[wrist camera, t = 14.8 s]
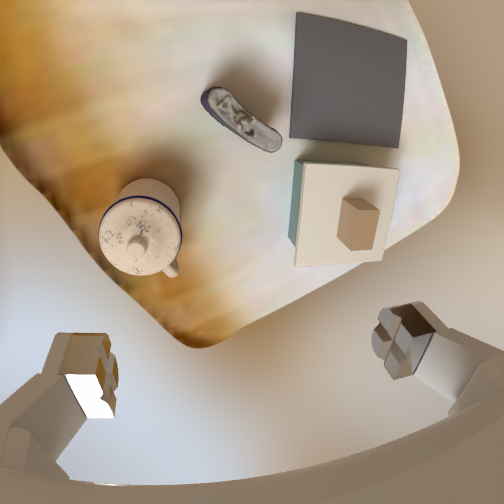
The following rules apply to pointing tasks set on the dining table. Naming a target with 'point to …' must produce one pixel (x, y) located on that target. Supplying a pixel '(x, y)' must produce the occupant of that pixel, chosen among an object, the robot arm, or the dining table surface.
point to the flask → (239, 119)
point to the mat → (347, 83)
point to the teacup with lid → (143, 229)
